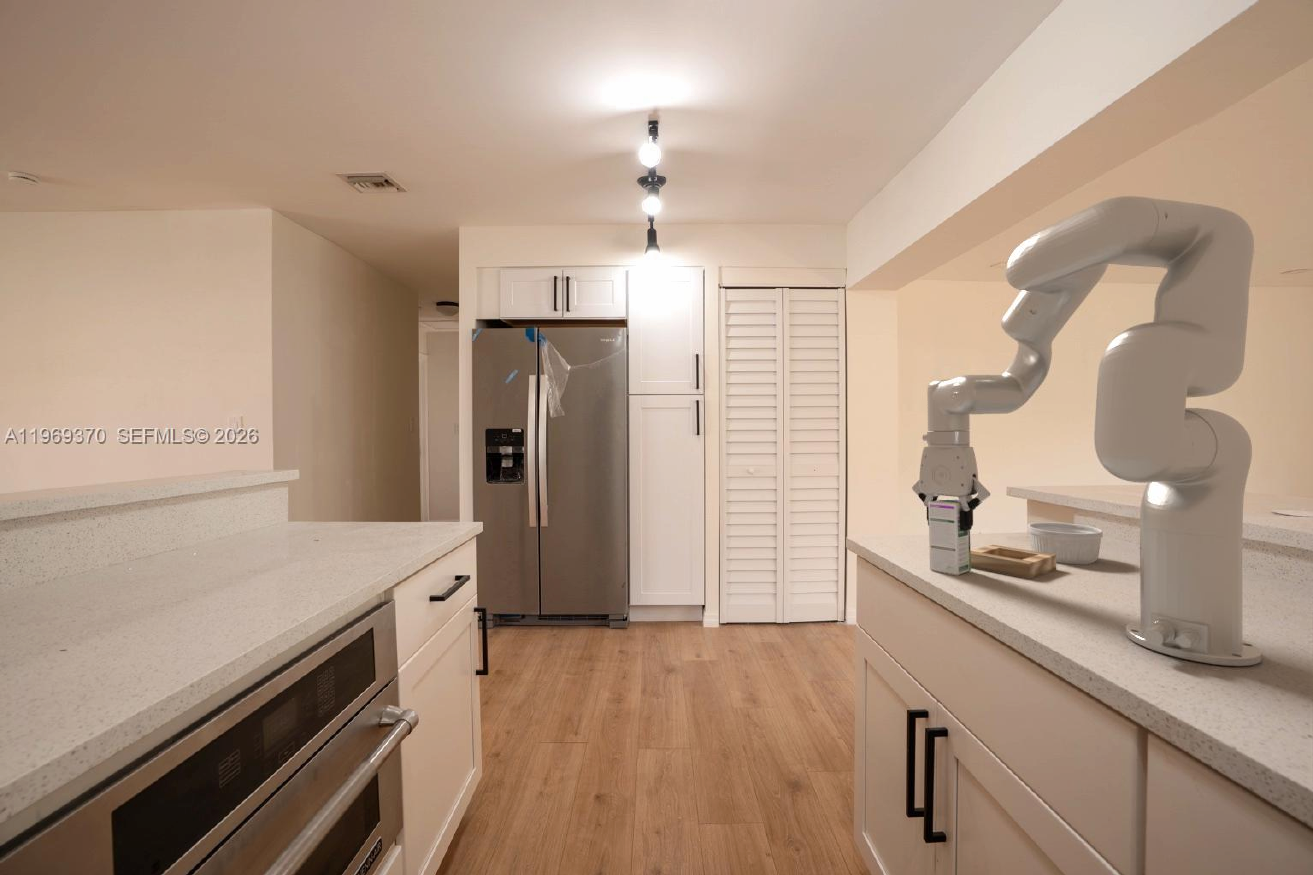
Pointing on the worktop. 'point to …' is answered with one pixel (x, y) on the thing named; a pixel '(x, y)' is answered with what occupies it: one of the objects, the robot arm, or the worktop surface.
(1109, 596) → the worktop surface
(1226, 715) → the worktop surface
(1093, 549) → the ramekin
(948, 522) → the syrup box
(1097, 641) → the worktop surface
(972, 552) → the holder block
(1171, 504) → the robot arm
